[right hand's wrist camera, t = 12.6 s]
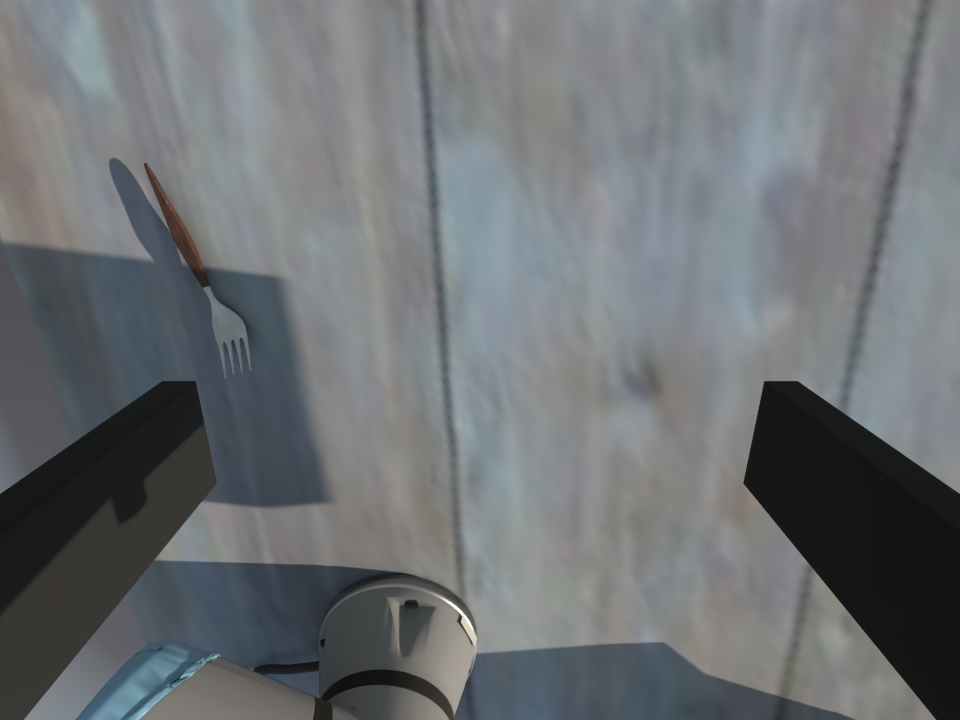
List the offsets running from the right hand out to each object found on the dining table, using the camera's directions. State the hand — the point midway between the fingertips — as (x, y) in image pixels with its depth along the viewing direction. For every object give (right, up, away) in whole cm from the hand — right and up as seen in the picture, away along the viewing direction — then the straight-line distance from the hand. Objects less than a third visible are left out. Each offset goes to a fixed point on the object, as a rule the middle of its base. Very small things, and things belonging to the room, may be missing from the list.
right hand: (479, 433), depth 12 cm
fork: (-21, +8, +28) cm, 36 cm away
